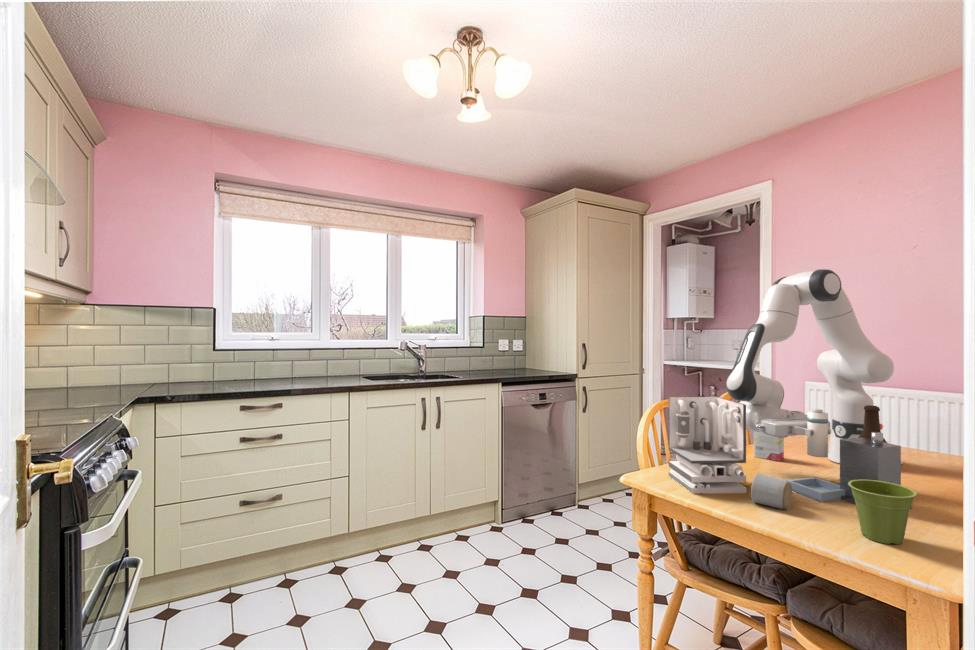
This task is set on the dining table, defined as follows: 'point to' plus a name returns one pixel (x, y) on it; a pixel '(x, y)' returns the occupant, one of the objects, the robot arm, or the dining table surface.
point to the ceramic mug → (771, 491)
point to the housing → (868, 462)
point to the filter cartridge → (817, 433)
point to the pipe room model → (707, 444)
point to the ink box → (768, 446)
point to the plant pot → (882, 509)
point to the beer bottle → (871, 421)
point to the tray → (817, 489)
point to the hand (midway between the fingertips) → (820, 432)
